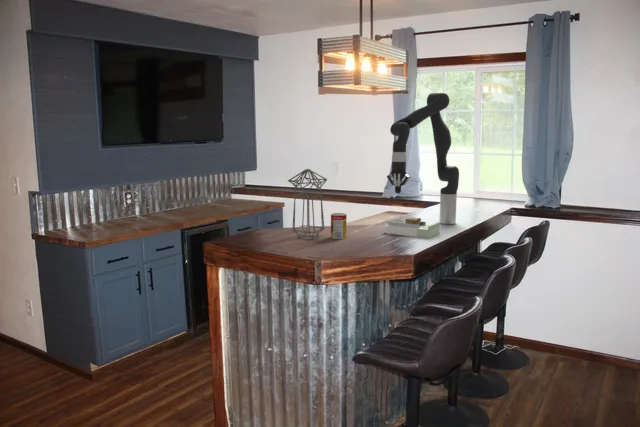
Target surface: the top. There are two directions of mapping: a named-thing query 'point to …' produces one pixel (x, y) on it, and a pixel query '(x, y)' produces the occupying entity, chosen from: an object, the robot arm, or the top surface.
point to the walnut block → (413, 220)
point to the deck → (415, 230)
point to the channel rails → (403, 223)
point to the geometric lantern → (308, 201)
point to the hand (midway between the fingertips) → (397, 193)
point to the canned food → (338, 225)
